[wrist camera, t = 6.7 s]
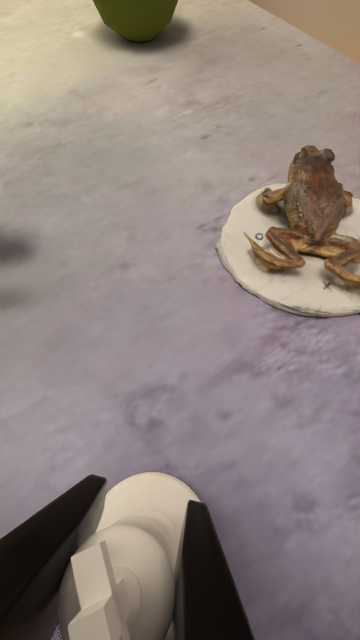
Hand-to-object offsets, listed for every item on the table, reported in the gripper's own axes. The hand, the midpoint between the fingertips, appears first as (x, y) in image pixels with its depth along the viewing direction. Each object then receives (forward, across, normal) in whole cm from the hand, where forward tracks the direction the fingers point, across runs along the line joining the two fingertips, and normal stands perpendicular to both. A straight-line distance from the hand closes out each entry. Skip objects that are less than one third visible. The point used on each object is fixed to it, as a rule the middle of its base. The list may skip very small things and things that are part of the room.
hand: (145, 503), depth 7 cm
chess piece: (+4, 0, +6) cm, 7 cm away
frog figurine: (+16, -6, -7) cm, 19 cm away
